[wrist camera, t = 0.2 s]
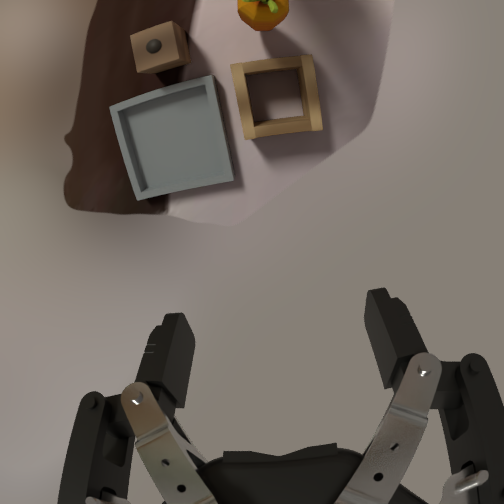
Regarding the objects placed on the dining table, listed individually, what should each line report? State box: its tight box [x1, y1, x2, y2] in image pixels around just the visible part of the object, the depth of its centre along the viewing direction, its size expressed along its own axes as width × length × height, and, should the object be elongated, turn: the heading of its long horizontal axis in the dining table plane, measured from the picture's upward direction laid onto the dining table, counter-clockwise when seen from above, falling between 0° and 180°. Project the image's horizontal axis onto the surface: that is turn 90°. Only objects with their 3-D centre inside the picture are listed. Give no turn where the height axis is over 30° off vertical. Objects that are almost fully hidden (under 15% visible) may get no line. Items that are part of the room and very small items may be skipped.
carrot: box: [238, 0, 289, 31], centre depth 20 cm, size 5×5×15 cm
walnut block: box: [130, 21, 191, 74], centre depth 25 cm, size 5×5×6 cm
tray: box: [110, 75, 235, 200], centre depth 33 cm, size 14×14×2 cm
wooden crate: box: [230, 55, 323, 140], centre depth 29 cm, size 9×9×5 cm
